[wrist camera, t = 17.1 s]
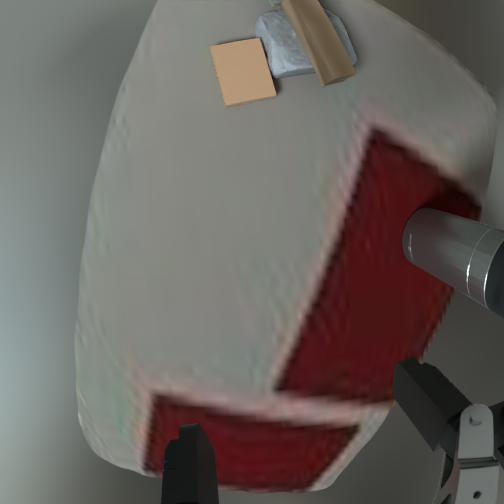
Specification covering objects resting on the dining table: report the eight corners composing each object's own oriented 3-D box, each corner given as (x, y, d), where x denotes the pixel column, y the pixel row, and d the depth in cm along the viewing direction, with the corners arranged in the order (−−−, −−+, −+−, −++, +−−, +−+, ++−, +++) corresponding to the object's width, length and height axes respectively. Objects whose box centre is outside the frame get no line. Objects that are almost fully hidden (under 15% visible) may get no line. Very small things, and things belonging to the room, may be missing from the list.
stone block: (246, 29, 31) (271, 87, 32) (249, 8, 26) (278, 68, 27) (324, 21, 32) (352, 74, 33) (334, 3, 27) (367, 58, 28)
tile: (273, 98, 32) (257, 43, 30) (276, 95, 30) (259, 37, 28) (225, 108, 32) (210, 52, 29) (225, 105, 30) (209, 46, 28)
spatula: (288, -30, 24) (295, -44, 20) (350, 79, 29) (363, 72, 26) (253, -25, 24) (257, -40, 20) (314, 88, 29) (325, 80, 26)
